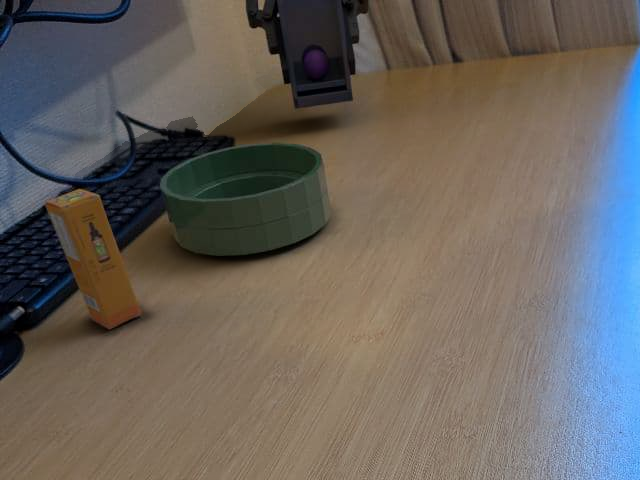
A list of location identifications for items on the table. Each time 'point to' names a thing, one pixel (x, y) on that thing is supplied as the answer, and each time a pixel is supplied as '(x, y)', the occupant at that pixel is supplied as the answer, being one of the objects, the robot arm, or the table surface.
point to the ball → (316, 64)
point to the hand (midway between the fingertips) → (319, 72)
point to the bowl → (246, 198)
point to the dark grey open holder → (315, 34)
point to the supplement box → (93, 257)
